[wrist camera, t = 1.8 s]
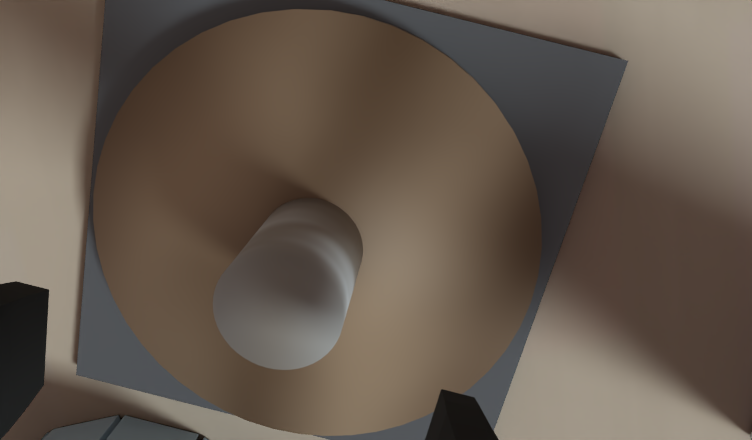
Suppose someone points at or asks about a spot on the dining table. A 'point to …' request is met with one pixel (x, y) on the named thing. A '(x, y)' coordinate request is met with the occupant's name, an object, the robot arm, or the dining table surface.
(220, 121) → the lid
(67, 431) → the bowl
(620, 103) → the dining table surface
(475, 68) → the mat
